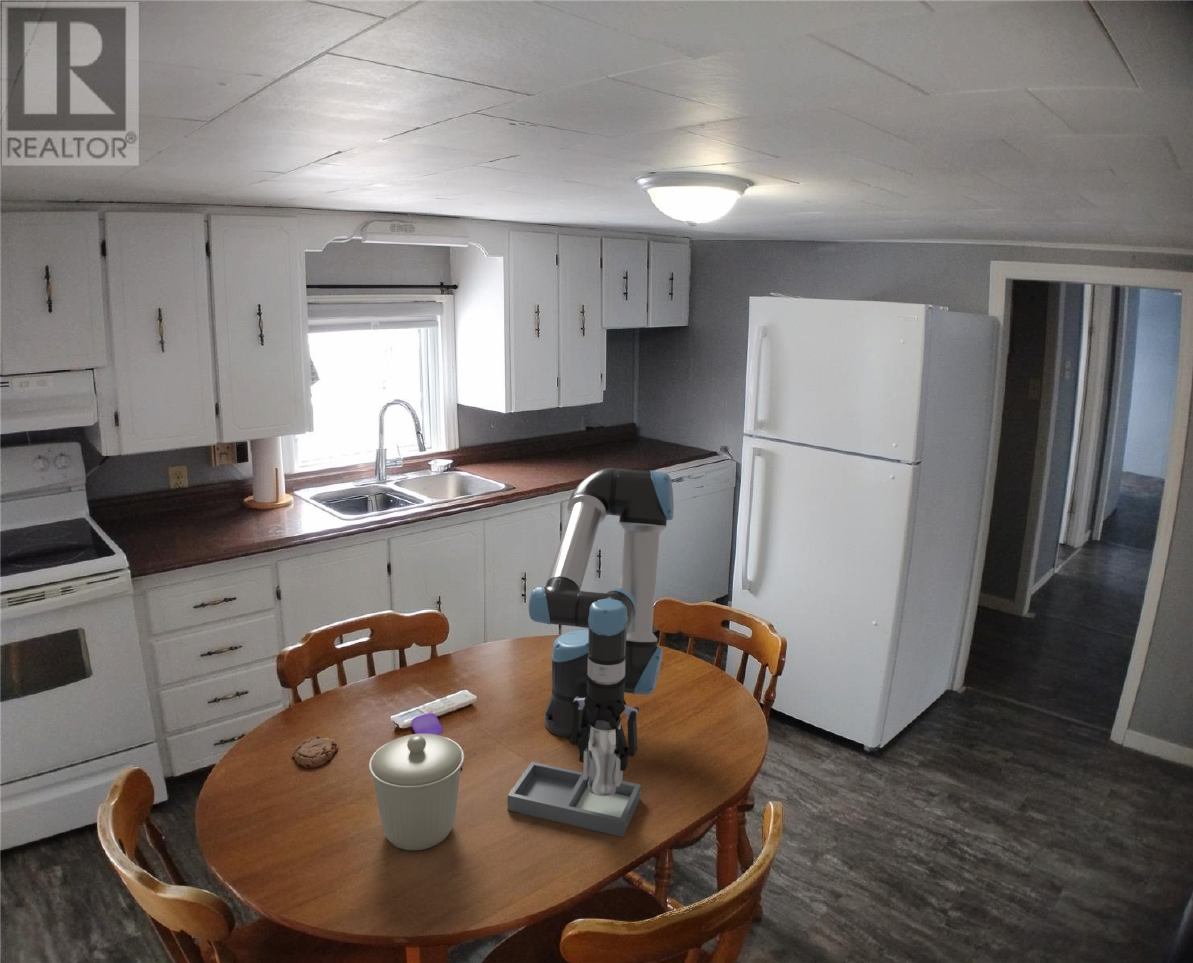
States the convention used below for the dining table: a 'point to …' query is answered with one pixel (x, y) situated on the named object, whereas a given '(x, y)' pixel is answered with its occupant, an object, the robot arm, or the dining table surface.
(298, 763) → the cookie
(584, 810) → the grey divided tray
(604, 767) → the beer glass
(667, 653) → the dining table surface
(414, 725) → the spatula
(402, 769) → the canister
